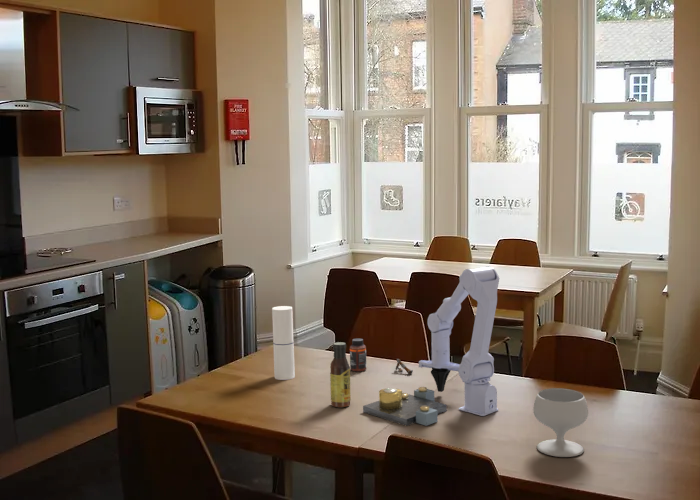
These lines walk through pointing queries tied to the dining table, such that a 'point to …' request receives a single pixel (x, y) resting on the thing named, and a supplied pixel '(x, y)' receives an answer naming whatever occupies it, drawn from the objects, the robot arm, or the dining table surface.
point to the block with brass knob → (426, 415)
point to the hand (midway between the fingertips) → (440, 390)
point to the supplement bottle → (357, 355)
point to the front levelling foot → (424, 393)
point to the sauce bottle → (340, 377)
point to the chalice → (560, 419)
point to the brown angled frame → (403, 367)
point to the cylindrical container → (283, 342)
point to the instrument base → (404, 410)
